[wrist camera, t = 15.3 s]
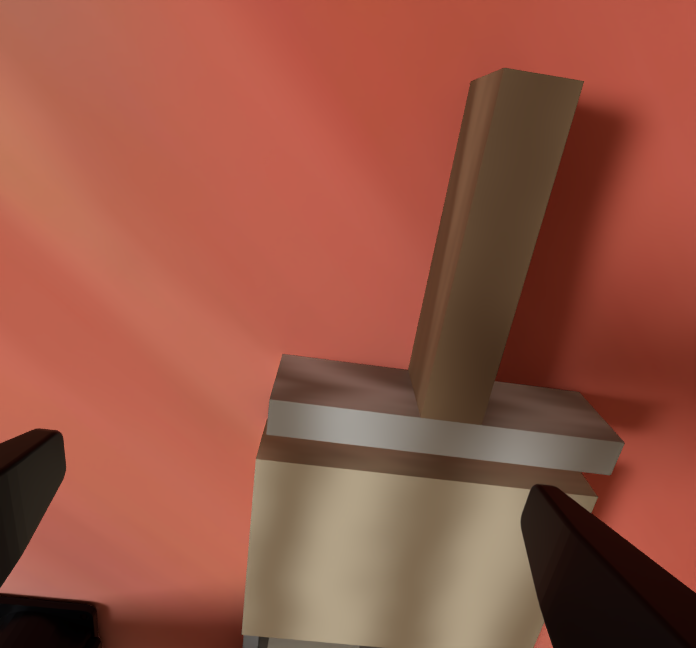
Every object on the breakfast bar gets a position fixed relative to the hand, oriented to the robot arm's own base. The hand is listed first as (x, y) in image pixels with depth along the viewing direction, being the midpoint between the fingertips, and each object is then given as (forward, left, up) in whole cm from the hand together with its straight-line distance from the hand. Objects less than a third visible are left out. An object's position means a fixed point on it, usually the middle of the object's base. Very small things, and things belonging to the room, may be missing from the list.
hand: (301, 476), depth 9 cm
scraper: (+6, +3, -12) cm, 14 cm away
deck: (+6, -12, -12) cm, 18 cm away
